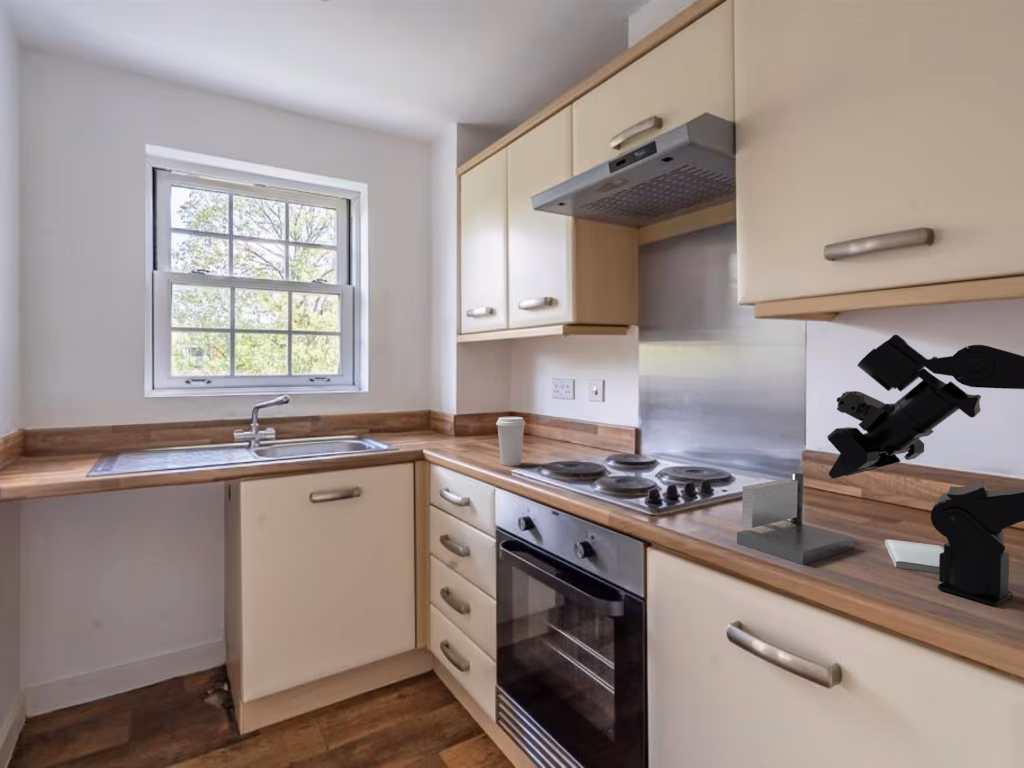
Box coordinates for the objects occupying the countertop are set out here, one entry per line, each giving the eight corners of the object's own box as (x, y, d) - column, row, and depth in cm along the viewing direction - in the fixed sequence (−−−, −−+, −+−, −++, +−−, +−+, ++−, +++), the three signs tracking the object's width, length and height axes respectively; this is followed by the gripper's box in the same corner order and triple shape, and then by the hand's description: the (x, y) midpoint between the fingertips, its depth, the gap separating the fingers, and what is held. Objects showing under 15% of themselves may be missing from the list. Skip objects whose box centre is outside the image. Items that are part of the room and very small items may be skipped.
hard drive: (962, 570, 80) (943, 545, 91) (895, 560, 84) (884, 537, 95) (962, 581, 80) (943, 555, 91) (895, 570, 84) (884, 547, 95)
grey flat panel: (786, 514, 103) (787, 478, 103) (796, 517, 101) (797, 480, 101) (742, 525, 96) (742, 486, 96) (752, 528, 94) (752, 488, 94)
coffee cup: (490, 463, 174) (490, 417, 174) (514, 460, 180) (514, 415, 179) (506, 467, 166) (506, 419, 166) (531, 464, 172) (531, 418, 171)
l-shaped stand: (860, 545, 94) (861, 483, 94) (802, 564, 85) (803, 496, 85) (794, 528, 104) (795, 472, 104) (736, 543, 95) (737, 482, 95)
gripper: (903, 373, 88) (833, 433, 98) (842, 374, 79) (771, 440, 88) (961, 425, 82) (880, 484, 91) (902, 433, 72) (818, 498, 82)
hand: (837, 474), depth 88 cm, fingers open, 4 cm apart
